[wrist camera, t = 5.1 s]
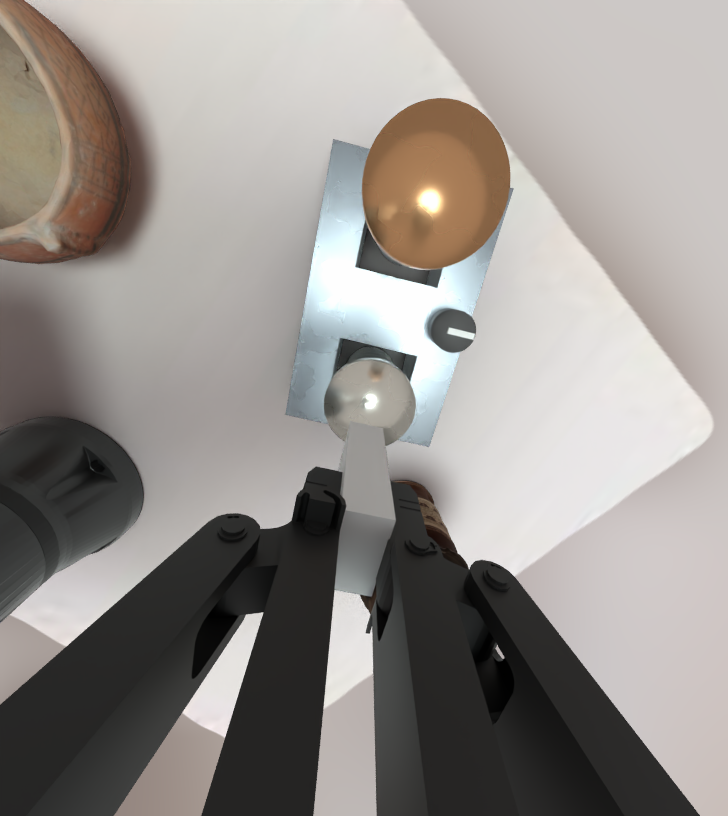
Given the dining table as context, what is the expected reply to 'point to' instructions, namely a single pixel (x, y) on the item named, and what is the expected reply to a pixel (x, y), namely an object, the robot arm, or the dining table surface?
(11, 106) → the bowl
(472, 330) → the knob
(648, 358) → the dining table surface
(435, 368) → the mount
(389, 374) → the white light bulb
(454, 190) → the orange light bulb
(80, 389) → the dining table surface
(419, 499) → the coffee cup
